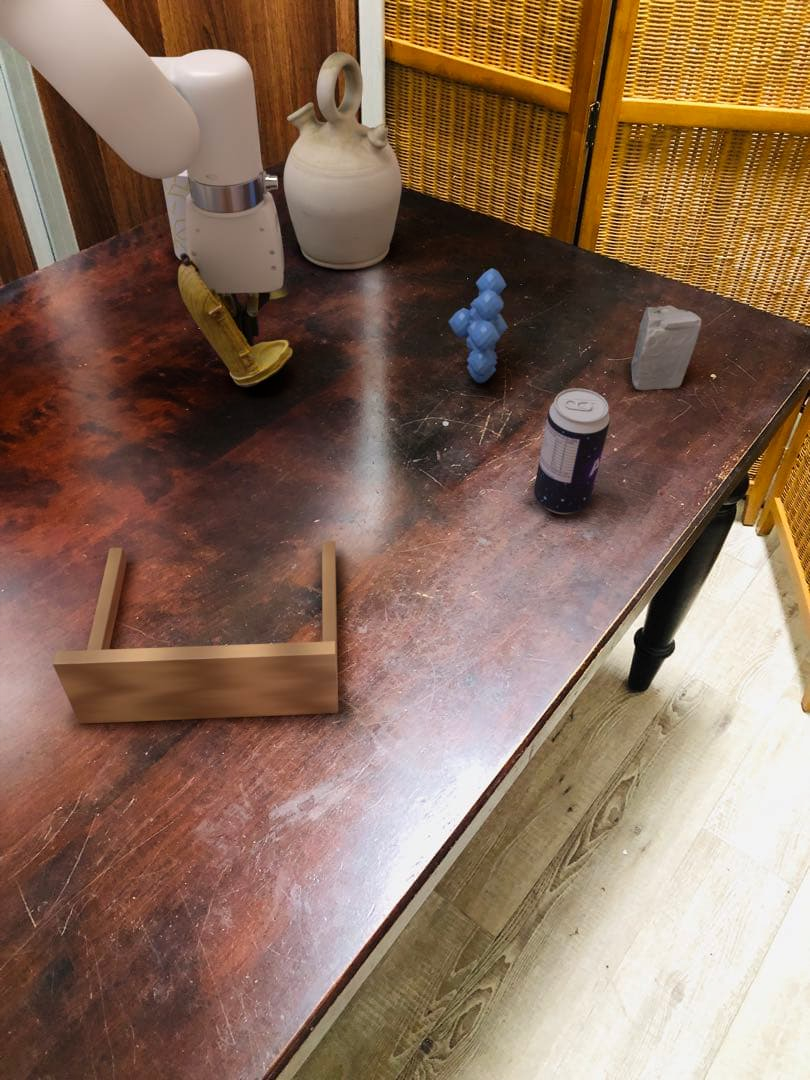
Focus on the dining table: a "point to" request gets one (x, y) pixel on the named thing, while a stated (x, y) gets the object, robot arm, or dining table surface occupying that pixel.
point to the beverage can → (571, 450)
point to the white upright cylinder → (177, 209)
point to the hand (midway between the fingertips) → (246, 339)
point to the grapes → (482, 325)
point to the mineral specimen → (664, 347)
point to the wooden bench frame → (199, 669)
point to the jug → (341, 177)
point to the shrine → (228, 331)
